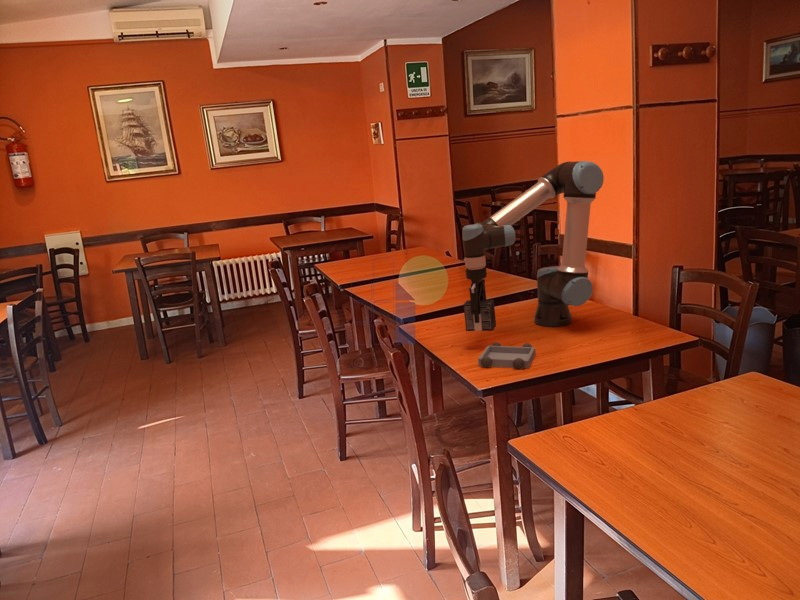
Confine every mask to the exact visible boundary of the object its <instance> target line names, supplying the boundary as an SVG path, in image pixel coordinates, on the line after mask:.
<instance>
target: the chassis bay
mask: <svg viewBox="0 0 800 600" xmlns="http://www.w3.org/2000/svg"><path fill="white" fill-rule="evenodd" d="M535 356H536V347H533V345H531V344H530V343H526V342H525V343H524V344H523V345H522V346H513V345H512V346H509V345H502V344H501V343H500V342H497V341H495V342H493V343H492V344H491V345H487V346H486V347H485V349H484V350H483V352H482V353H481V354H480V356H479V357H478V358H477V360H478V362H477V363H478V366H479V367H483V368H485V369H488V368H490V367H491V368H492V367H493V368H496V367H497V368H507V369H508V368H512V369H516V370H517V371H518V370H522V369H529V368H530V366H531V365H532V362H533V360H534V358H535Z"/></svg>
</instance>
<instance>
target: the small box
mask: <svg viewBox="0 0 800 600" xmlns="http://www.w3.org/2000/svg"><path fill="white" fill-rule="evenodd" d="M462 306H463V312H464V322H465V331H466V332H476V331H475V329H474V318H473V314H471V302H470V299H469V300H468V299H467V300H466V301H465V302H464V303H463V305H462ZM480 313H481V321H482V331H481V332H491V331H494V330H495V328H496V327H497V319H496V310H495V300H494V299H486V300H480Z"/></svg>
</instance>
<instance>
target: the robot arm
mask: <svg viewBox="0 0 800 600" xmlns="http://www.w3.org/2000/svg"><path fill="white" fill-rule="evenodd" d="M604 179H605V178H604V173H603V170H602V168H600V166H599V165H598V164H597V163H595V162H593V161H587V160H579V161H577V160H576V161H564V162H561V163H559V164H558V165H556V166H554V167H553V168H552V169H550V170H548V171H547V172H546V173H544V174H543V175H542V176H540V177H539V178H538V179H537V182H536V183H534V185H531V187H530V188H528V189H527V190H525V191H524V192H522V193H521V194H520V195H518V196H517V197H516V198H514V199H513V200H512V201H510V202H508V203H507V204H506V205H505V206H504V207H502V208H501V209H499V210H497V211H496V212H495V213H494V214H492V215H491V216H489V217H488V218H487V219H485V220H484V221H482V222H477V223H475V224H468V225H465V226H463V227H462V230H461V231H462V232H461V233H462V237H461V238H462V239H461V240H462V246H463V253H464V254H463V256H464V258H463V260H462V261H463V262H464V265H465V278H466V279H467V280H469V281H471V284H470V287H469V288H468V290H469V298H470V299H469V300H470V302H471V314H473V318H474V329H475V331H474V332H483V331H482V321H481V313H480V300H487V293H486V280H485V278H487V276H488V275H487V267H486V266H487V263H486V261H487V260H486V259H487V258H486V250H489V249H490V250H491V249H495V248H502V247H506V248H507V247H510V246H513V244H514V243H515V242H516V231H515V229H514V227H513V225H514V224H515V223H517V222H518V221H520V220H521V219H522V218H524V217H525V216H526V215H528V214H530V212H532V211H533V210H535V209H537V208H538V207H539V206H540V205H542V204H543V203H544V202H546V201H547V200H548V199H554V198H556V197H557V196H558V195H562V194H563V199H564V200H565V201H566V209H565V210H566V213H565V222H564V233H563V245H562V246H563V247H562V257H561V265H555V266H548V267H547V266H546V267H542V268H539V269H537V274H536V280H537V281H536V283H537V307H536V310H535V313H534V317H533V320H534V321H533V322H534V323H535V324H536V325H537V326H541V327H553V328H554V327H563V326H567V325H569V324H571V323H572V322H573V317H572V313H571V310H570V308H569V306H573V307H579V306H582V305H585V304H586V303H587V302H588V301H589V300H590V298H591V296H592V294H593V290H594V289H593V288H594V287H593V286H594V285H593V283H592V282H591V280H590V279H589V270H588V269H587V267H586V257H587V246H588V239H589V237H588V236H589V235H588V234H589V228H590V227H589V225H590V214H591V205H592V202H594V201H595V200H596V198H597V197H596V195H597V193H598V192H599V191H600V189H602V187H603V185H604Z"/></svg>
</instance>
